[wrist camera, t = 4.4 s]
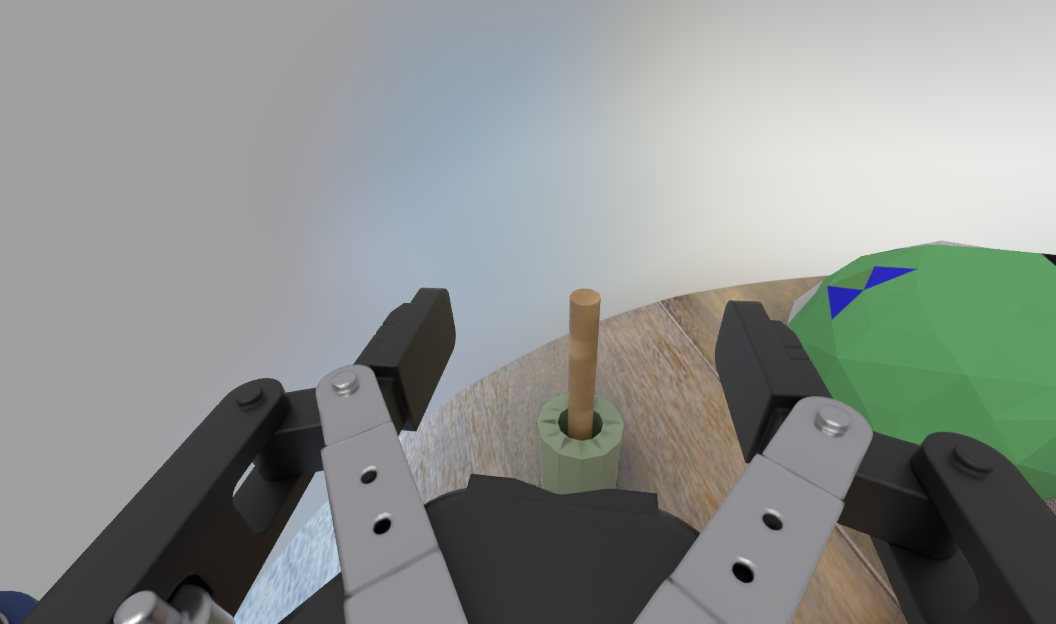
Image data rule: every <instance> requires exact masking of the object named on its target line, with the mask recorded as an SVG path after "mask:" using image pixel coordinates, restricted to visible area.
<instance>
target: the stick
mask: <svg viewBox="0 0 1056 624" xmlns="http://www.w3.org/2000/svg"><path fill="white" fill-rule="evenodd" d="M600 300H601V299H600V295H599V293H597V292H596V291H594V290H591V289H579V290H576V291H574V292H572V294H571V295H570V322H569V388H568V437H569V438H571V439H576V440H580V441H584V440H589V439H592V425H593V410H594V394H595V378H596V363H597V347H598V331H599V315H600V314H599V313H600Z"/></svg>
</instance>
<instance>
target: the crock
mask: <svg viewBox="0 0 1056 624" xmlns="http://www.w3.org/2000/svg"><path fill="white" fill-rule="evenodd" d="M623 431H624V422H623V420H622V418H621V416H620V414H619V412H618V410H617V408H616V407H615V406H614V405H613V404H611V403H610V402H609V401H607V400H606V399H604V398H603V397H601V396H599V395H597V394H594V410H593V425H592V439H589V440H584V441H580V440H576V439H571V438H569V437H568V393H564V394H559V395H557V396H556V397H555V398H553V399H552V400H550V401H549V402H548V403H546V404H545V405H544V406H543V407H542V410H541V412H540V415H539V417H538V420H537V435H538V457H539V478H540V482H541V488H542V489H545V490H547V491H550V492H553V493H556V494H571V493H579V492H586V491H594V490H601V489H616V484H617V478H618V470H619V462H620V454H621V447H622V439H623Z"/></svg>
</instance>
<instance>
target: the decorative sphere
mask: <svg viewBox="0 0 1056 624" xmlns="http://www.w3.org/2000/svg"><path fill="white" fill-rule="evenodd" d="M787 327H788V328H790V329H791V330H792V331H793V332H795V334H796V335H797V337H798V339H799V340H800V342H801V344H802V346H803V349H805V351H806V352H807V354H808V356H809V358H810V359H809V360H810V361H812V363H813V365H814V366H815V368H816V370H817V371H818V373H819V375H820V377H821V378H822V380H823V382H824V383H825V385H826V387H827V389H828V390H829V392H830V394H831V396H832V397H833V399H834V400H837V401H840V402H842V403H844V404H846V405H848V406H850V407H852V408H853V409H855V410H856V411H858V412H859V413H860V414H861V415H862V416H863V417H864V418H865V419H866V420H867V421H868V422H869V424H870V426H871V428H872V430H873V431H875V432H878V433H881V434H884V435H887V436H891V437H894V438H898V439H901V440H904V441H908V442H911V443H915V444H918V445H921V443H922V442H923V441H924V439H925V438H926V437H927V436H928V435H930V434H931V433H935V432H953V433H958V434H962V435H966V436H969V437H971V438H974V439H976V440H979V441H981V442H983V443H985V444H987V445H989V446H991V447H992V448H994V449H995V450H997V451H998V452H1000V453H1001V454H1003V455H1004V456H1005V457H1006V458H1007V459H1009V460H1010V461H1011V462H1012V463H1013V464H1014V465H1015V467H1016V468H1017V469H1018V470H1019V471H1020V473H1021V474H1022V475H1023V476H1024V478H1025V479H1026V480H1027V481H1028V482H1029V484H1030V485H1031V486H1032V487H1033V489H1034V490H1035V491H1036V492H1037V493H1038V495H1039V496H1040V497H1041V498H1042V500H1047V499H1051V498H1055V497H1056V266H1055V265H1054V264H1053V263H1051V262H1050V261H1049V260H1048V259H1047V258H1046V257H1044V256H1043V255H1042V254H1039V253H1029V252H1019V251H1008V250H999V249H990V248H984V247H978V246H972V245H965V244H959V243H953V242H947V241H938V242H932V243H927V244H921V245H916V246H911V247H906V248H900V249H895V250H890V251H885V252H880V253H876V254H870V255H866V256H861V257H859V258H858V259H856V260H855V261H853V262H851V263H850V264H848V265H847V266H845V267H843V268H842V269H840V270H838V271H837V272H835V273H833V274H832V275H830V276H829V277H827V278H825V279H824V280H822V281H821V282H820V283H818V284H817V285H816V286H814V287H813V288H812V289H810V290H809V291H808V292H806V293H805V294H804V295H802V296H801V297H800V298H798V299H797V300H796V301H795V302H794V305H793V308H792V311H791V314H790V317H789V320H788V323H787Z"/></svg>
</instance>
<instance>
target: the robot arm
mask: <svg viewBox="0 0 1056 624" xmlns="http://www.w3.org/2000/svg"><path fill="white" fill-rule="evenodd" d="M455 339H456V333H455V325H454V320H453V314H452V308H451V303H450V297H449V293H448V291H447V289H443V288H421V289H419V291H418V292H417V294H416V295H415V297H414V298H413V300H412V301H411V303H403V304H402V305H401V306H399V307H398V308H396V309H395V310H394V311H392V312H391V313H390V314H389V315H388V317H387V318H386V320H385V321H384V322H383V326H381V327H380V328H379V329H378V331H377V332H376V335H374V336H373V338H372V339H371V341H370V342H369V343H368V345H367V346H366V348H365V349H364V350H363V352H362V353H361V354H360V356H359V357H358V359H357V360H356V361H355V363H354V364H353V365H348V366H344V367H341V368H338V369H336V370H334V371H332V372H330V373H329V374H327V375H326V376H325V377H324V378H323V379H322V380H321V381H320V382H319V384H318V386H317V387H316V388H311V389H305V390H299V391H293V392H287V393H286V392H285V390H284V388H283V386H282V385H281V383H280V382H279V381H277V380H275V379H270V378H263V379H258V380H253V381H250V382H248V383H245V384H243V385H241V386H239V387H237V388H235V389H234V390H232V391H231V392H230V393H229V394H227V395H226V396H225V397H224V398H223V400H222V401H221V402H220V403H219V404H218V405H217V406H216V407H215V408H214V409H213V411H212V412H211V413H210V414H209V415H208V416H207V417H206V418H205V419H204V421H203V422H202V423H201V424H200V425H199V426H198V427H197V428H196V429H195V430H194V431H193V433H192V434H191V435H190V436H189V437H188V438H187V439H186V440H185V442H183V444H182V445H181V446H180V447H179V448H178V449H177V450H176V451H175V452H174V453H173V455H172V456H171V457H170V458H169V459H168V460H167V461H166V462H165V463H164V464H163V466H162V467H161V468H160V469H159V470H158V471H157V472H156V473H155V474H154V475H153V477H152V478H151V479H150V480H149V481H148V482H147V483H146V484H145V485H144V487H143V488H142V489H141V490H140V491H139V492H138V493H137V494H136V495H135V497H134V498H133V499H132V500H131V501H130V502H129V503H128V504H127V505H126V506H125V507H124V508H123V510H122V511H121V512H120V513H119V514H118V515H117V516H116V517H115V518H114V520H113V521H112V522H111V523H110V524H109V525H108V526H107V527H106V528H105V529H104V530H103V532H102V533H101V534H100V535H99V536H98V537H97V538H96V539H95V541H94V542H93V543H92V544H91V545H90V546H89V547H88V548H87V549H86V550H85V551H84V552H83V554H82V555H81V556H80V557H79V558H78V559H77V560H76V561H75V562H74V564H73V565H72V566H71V567H70V568H69V569H68V570H67V571H66V572H65V574H63V576H62V577H61V578H60V579H59V580H58V581H57V582H56V583H55V584H54V586H53V587H52V588H51V589H50V590H49V591H48V592H47V593H46V594H45V595H44V596H43V598H42V599H41V600H40V601H39V602H38V603H37V604H36V605H35V606H34V607H33V609H32V610H31V611H30V612H29V613H28V614H27V615H26V616H25V617H24V618H23V620H22V621H21V622H20V623H19V624H236V623H235V620H234V619H233V618H234V616H235V614H236V613H237V611H238V609H239V607H240V605H241V604H242V602H243V600H244V598H245V597H246V595H247V593H248V591H249V589H250V588H251V586H252V584H253V582H254V581H255V579H256V577H257V575H258V573H259V572H260V570H261V568H262V566H263V565H264V563H265V561H266V559H267V557H268V556H269V554H270V552H271V550H272V549H273V547H274V545H275V543H276V542H277V540H278V538H279V536H280V534H281V533H282V531H283V529H284V527H285V525H286V524H287V522H288V520H289V518H290V517H291V515H292V513H293V511H294V510H295V508H296V506H297V504H298V503H299V501H300V499H301V497H302V495H303V494H304V492H305V490H306V488H307V487H308V485H309V483H310V481H311V479H312V478H313V476H314V474H315V472H317V471H323V470H324V474H325V479H326V485H327V491H328V497H329V503H330V509H331V514H332V520H333V526H334V532H335V537H336V543H337V549H338V555H339V560H340V566H341V572H340V573H339V574H338V575H336V576H335V577H334V578H333V579H331V580H330V581H329V582H328V583H327V584H325V585H324V586H323V587H322V588H320V589H319V590H318V591H317V592H316V593H314V594H313V595H312V596H311V597H309V598H308V599H307V600H306V601H305V602H303V603H302V604H301V605H300V606H299V607H297V608H296V609H295V610H294V611H292V612H291V613H290V614H289V615H288V616H286V617H285V618H284V619H283V620H281V621H280V622H279V623H278V624H790V622H791V620H792V618H793V616H794V614H795V612H796V609H797V607H798V605H799V603H800V601H801V599H802V596H803V594H804V592H805V590H806V588H807V586H808V583H809V581H810V579H811V577H812V575H813V573H814V570H815V568H816V566H817V564H818V562H819V560H820V557H821V555H822V553H823V551H824V549H825V547H826V544H827V542H828V540H829V538H830V536H831V534H832V531H833V529H834V527H835V525H836V523H839V524H841V525H844V526H847V527H849V528H852V529H855V530H857V531H860V532H863V533H865V534H868V535H870V537H871V539H872V541H873V544H874V546H875V548H876V551H877V553H878V555H879V558H880V560H881V562H882V565H883V567H884V569H885V571H886V574H887V576H888V578H889V581H890V583H891V585H892V588H893V590H894V592H895V595H896V597H897V599H898V601H899V604H900V606H901V608H902V611H903V613H904V615H905V618H906V620H907V622H908V624H1056V516H1055V514H1054V513H1053V512H1052V511H1051V509H1050V508H1049V507H1048V506H1047V505H1046V503H1045V502H1044V501H1043V500H1042V498H1041V497H1040V496H1039V495H1038V493H1037V492H1036V491H1035V490H1034V489H1033V487H1032V486H1031V485H1030V484H1029V482H1028V481H1027V480H1026V479H1025V478H1024V476H1023V475H1022V474H1021V473H1020V471H1019V470H1018V469H1017V468H1016V467H1015V465H1014V464H1013V463H1012V462H1011V461H1010V460H1009V459H1007V458H1006V457H1005V456H1004V455H1003V454H1001V453H1000V452H998V451H997V450H995V449H994V448H992V447H991V446H989V445H987V444H985V443H983V442H981V441H979V440H976V439H974V438H971V437H969V436H966V435H962V434H958V433H953V432H935V433H931V434H930V435H928V436H927V437H926V438H925V439H924V441H923V442H922V443H921V445H918V444H915V443H911V442H908V441H904V440H901V439H898V438H894V437H891V436H887V435H884V434H881V433H878V432H875V431H873V430H872V428H871V426H870V424H869V422H868V421H867V420H866V419H865V418H864V417H863V416H862V415H861V414H860V413H859V412H858V411H856V410H855V409H853V408H852V407H850V406H848V405H846V404H844V403H842V402H840V401H837V400H834V399H833V397H832V396H831V394H830V392H829V390H828V389H827V387H826V385H825V383H824V382H823V380H822V378H821V377H820V375H819V373H818V371H817V370H816V368H815V366H814V365H813V363H812V361H810V360H809V359H810V358H809V356H808V354H807V352H806V351H805V349H803V346H802V344H801V342H800V340H799V339H798V337H797V335H796V334H795V332H793V331H792V330H791V329H790V328H788V327H787V326H786V325H785V324H783V323H782V322H781V321H775V320H770V319H769V317H768V315H767V313H766V312H765V310H764V308H763V306H762V304H761V303H760V302H757V301H732V300H730V301H729V302H728V303H727V305H726V308H725V311H724V315H723V319H722V323H721V327H720V331H719V335H718V339H717V343H716V348H715V363H716V368H717V371H718V374H719V378H720V381H721V384H722V387H723V391H724V394H725V397H726V401H727V404H728V407H729V410H730V414H731V417H732V420H733V424H734V427H735V430H736V433H737V437H738V440H739V443H740V447H741V450H742V453H743V456H744V460H745V463H749V465H748V466H747V468H746V469H745V471H744V472H743V473H742V475H741V476H740V478H739V479H738V481H737V482H736V484H735V485H734V486H733V488H732V489H731V491H730V492H729V494H728V495H727V496H726V498H725V499H724V501H723V502H722V504H721V505H720V506H719V508H718V509H717V511H716V512H715V514H714V515H713V516H712V518H711V519H710V521H709V522H708V524H707V525H706V526H705V528H704V529H703V531H702V532H701V533H700V532H698V531H697V530H696V529H694V528H693V527H692V526H690V525H689V524H688V523H686V522H684V521H683V520H681V519H679V518H678V517H676V516H674V515H672V514H670V513H667V512H665V511H662V510H660V509H658V500H657V494H656V493H647V492H637V491H628V490H618V489H601V490H594V491H586V492H579V493H571V494H556V493H553V492H550V491H547V490H545V489H542V488H539V487H536V486H534V485H531V484H528V483H525V482H523V481H520V480H517V479H514V478H505V477H495V476H486V475H476V474H471V476H470V479H469V483H468V486H467V488H465V489H459V490H455V491H452V492H449V493H446V494H443V495H441V496H439V497H437V498H435V499H433V500H431V501H429V502H427V503H426V504H424V505H423V502H422V500H421V497H420V494H419V491H418V489H417V486H416V483H415V481H414V478H413V475H412V473H411V470H410V467H409V465H408V462H407V459H406V456H405V454H404V451H403V448H402V446H401V443H400V440H399V438H398V436H399V434H400V432H401V430H406V431H417V429H418V426H419V424H420V422H421V420H422V418H423V415H424V413H425V411H426V409H427V407H428V404H429V402H430V400H431V398H432V396H433V393H434V391H435V389H436V387H437V384H438V382H439V380H440V378H441V376H442V374H443V371H444V369H445V367H446V365H447V363H448V360H449V358H450V356H451V354H452V351H453V349H454V346H455ZM252 462H253V464H254V465H255V467H254V468H253V470H252V471H251V473H250V474H249V475H248V477H247V478H246V480H245V481H244V482H243V484H242V485H241V487H240V488H239V490H238V491H237V492H236V494H235V495H234V497H233V492H234V489H235V486H236V484H237V482H238V481H239V479H240V478H241V477H242V475H243V474H244V472H245V471H246V470H247V468H248V466H249V465H250V464H251V463H252ZM0 624H12V622H11V620H10V619H9V618H8V617H7V616H6V615H4V614H2V613H1V612H0Z"/></svg>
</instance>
